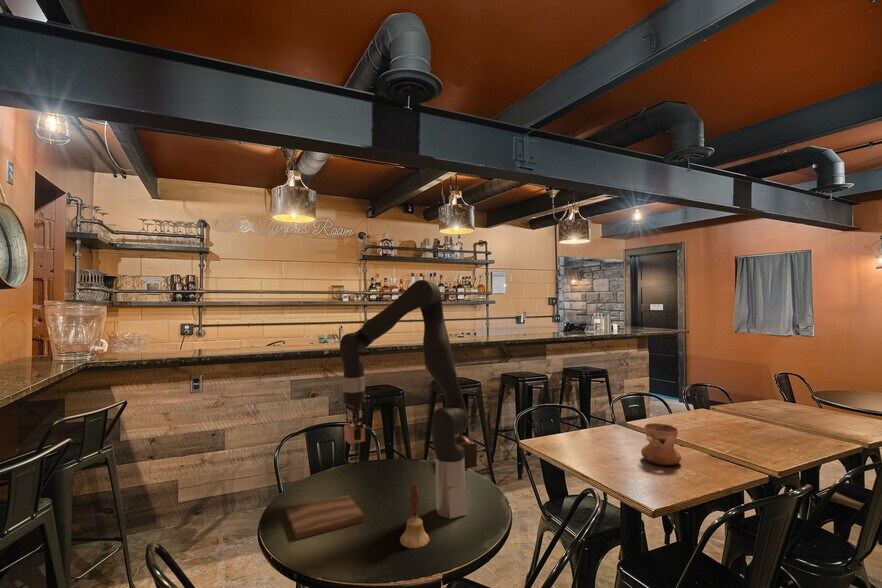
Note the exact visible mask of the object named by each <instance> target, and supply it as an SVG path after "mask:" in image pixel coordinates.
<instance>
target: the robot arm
mask: <svg viewBox="0 0 882 588" xmlns="http://www.w3.org/2000/svg"><path fill="white" fill-rule="evenodd" d="M437 285H438V284H436V283H434V282H431V281H428V280H425V279H420V280H416V281H414V282H413V283H412V284H410V285H409V287H408V288H407V289H406V290H404V291H403V292H402V293H401V294H400V295H399V297H397V298H396V299H395V300H394V301H393V302H392V303H390V305H388V306H386V308H384V309H383V310H381V311H380V312H378V313H377V314H375V315H374V316H372V317H371V318H370V319H368V320H367V321H366V322H364V323H363V324H362V327H361V328H359V329H358V330H356V331H355V332H351V333H350V332H349V333H346V334H344V335H343V336H342V337H341V338H340V342H339V352H340V356H341V360H342V363H343V382H342V384H343V385H342V387H343V389H342V391H343V392H342V395H343V397H342V400H343V404H345V417H346V420H345V421H346V422H347V424H348V423H353V424H354V439H355V440H360V439H361V428H363V425H365V424H364V422H365V420H364V419H365V412H364V411H362V408H361V405H362V404H364V403H366V381H365V364H364V361H363V360H362V359H360V354H359V352H361V351H364V350H365V349H366V348H368V347H369V346H370V345H371V344H373V343H374V341H375V340H377V339H380V337H382V336H383V335H385V334H386V333H388V332H389V331H390V330H392V329H393V328H394V327H395V326H396V325H397V323H398V322H399V321H401V320H402V318H403V317H404V316H406V315H407V314H409V313H410V312H412V311H414V310H417V309H419V308H420V311H421V315H422V319H423V324H424V326H423V328H424V329H423V341H422V351H423V356H424V360H425V366H426V368H427V371H428V372H429V374H430V376H431V377H432V378H433V380H434V381H435V382H436V384H437V385H438V386H439V387H440V389H441V392H442V395H443V397H444V401H445V406H444V407H440V408H437V409H435V411H433V414H432V416H431V432H432V433H431V434H432V435H431V436H432V446H433V449H434V453H435V497H436V499H435V501H436V502H435V504H436V506H435V508H436V509H435V510H436V514H437V515H438V516H440V517H442V518H447V519H449V520H453V519H456V518H460V517H462V516H463V517H464V516H466V515H467V484H466V480H465V479H466V478H465V473H466V471H465V469H466V468H465V463H464V448H463V447H462V446H460V445H457V444H455V439H454V438H455V436H456V435H457V436H458V435H460V433H462V434H463V433H464V432H466V431H467V429H468V427H469V424H470V422H469V421H470V419H469V418H470V417H469V413H468V408H467V406H466V403H465V400H464V397H463V394H462V390H461V387H460V383H459V379H458V375H457V371H456V367H455V362H454V361H455V360H454V356H453V351H452V346H451V343H450V338H449V334H448V330H447V326H446V322H445V317H444V310H443V309H444V308H443V301H442V299H443V298H442V293H441V290H440V288H439V287H438V286H437ZM358 423H359V425H358Z"/></svg>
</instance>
